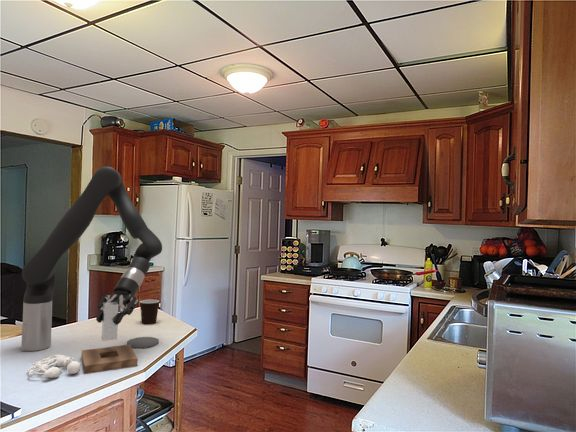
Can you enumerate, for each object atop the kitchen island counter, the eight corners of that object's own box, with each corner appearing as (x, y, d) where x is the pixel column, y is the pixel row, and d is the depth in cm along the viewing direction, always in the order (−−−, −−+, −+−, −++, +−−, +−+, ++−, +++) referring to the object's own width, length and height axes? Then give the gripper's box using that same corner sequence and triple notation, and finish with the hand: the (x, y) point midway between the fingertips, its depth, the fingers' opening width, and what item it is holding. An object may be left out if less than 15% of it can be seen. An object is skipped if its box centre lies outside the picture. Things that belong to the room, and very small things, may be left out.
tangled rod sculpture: (23, 369, 134) (22, 356, 133) (71, 356, 143) (70, 345, 143) (32, 387, 119) (31, 374, 119) (85, 372, 128) (84, 360, 128)
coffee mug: (154, 325, 184) (155, 303, 184) (136, 324, 185) (136, 303, 185) (163, 319, 196) (163, 298, 196) (145, 318, 196) (146, 297, 196)
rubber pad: (129, 350, 151) (129, 348, 151) (124, 341, 161) (124, 339, 161) (161, 346, 157) (161, 344, 157) (155, 337, 167) (155, 335, 167)
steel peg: (103, 340, 136) (104, 305, 136) (101, 337, 140) (103, 302, 140) (117, 339, 138) (118, 304, 138) (115, 335, 142) (116, 301, 142)
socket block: (84, 373, 128) (84, 365, 128) (81, 357, 142) (81, 350, 142) (137, 365, 136) (137, 358, 136) (129, 351, 150) (129, 344, 150)
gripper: (108, 274, 148) (83, 314, 137) (143, 278, 144) (120, 319, 133) (117, 287, 153) (94, 326, 142) (151, 290, 150) (129, 330, 138)
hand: (106, 322), depth 137 cm, fingers closed on steel peg, 6 cm apart
